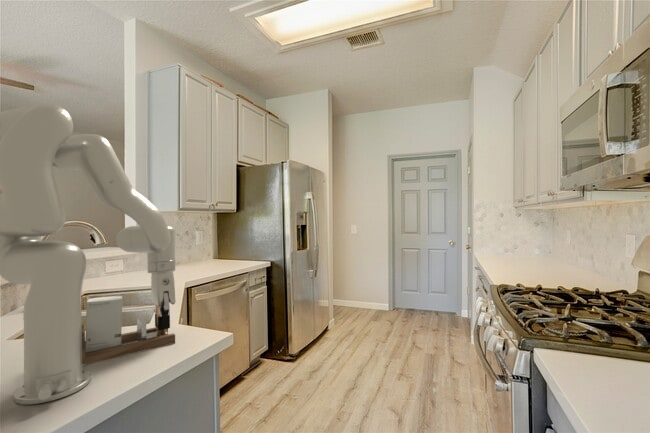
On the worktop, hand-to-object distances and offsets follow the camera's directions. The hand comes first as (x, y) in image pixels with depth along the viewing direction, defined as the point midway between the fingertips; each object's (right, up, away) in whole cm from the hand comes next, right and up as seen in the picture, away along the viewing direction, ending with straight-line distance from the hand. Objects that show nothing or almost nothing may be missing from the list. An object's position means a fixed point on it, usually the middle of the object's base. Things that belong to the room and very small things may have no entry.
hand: (162, 327), depth 99 cm
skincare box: (-11, -4, -9) cm, 15 cm away
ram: (-2, -4, -2) cm, 4 cm away
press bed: (-7, -4, -6) cm, 10 cm away
